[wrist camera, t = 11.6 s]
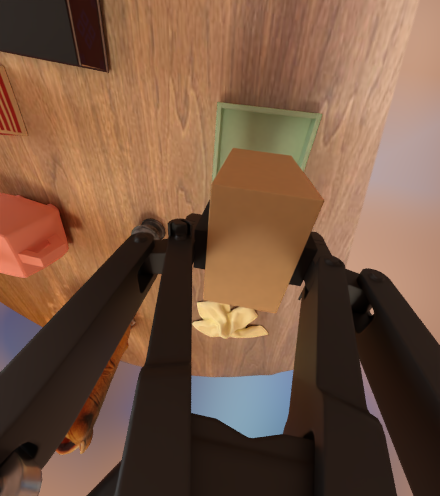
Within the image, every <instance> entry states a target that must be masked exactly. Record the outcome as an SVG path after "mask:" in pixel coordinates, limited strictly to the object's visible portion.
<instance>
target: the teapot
mask: <svg viewBox="0 0 440 496" xmlns="http://www.w3.org/2000/svg"><path fill="white" fill-rule="evenodd" d="M59 214H60V212H59V210H58V208H57V207H55V206H54V205H52V204H48V205H44V204H41V203H38V202H35V201H32V200H29V199H26V198H24V197H22V196H20V195H17V196H14V195H9V194H4V193H0V273H4V274H8V275H12V276H16V277H22V278H26V277H28V276H30V275H32V274H34V273H36V272H38V271H40V270H42V269H43V268H45V267H47V266H49V265H50V264H52V263H53V262H55V261H56V260H58V259H59V258H61V257H62V256H63V255H64V254H65V253H66V252H68V249H69V247H68V242H67V237H66V235H65V231H64V228H63V224H62V221H61V218H60V215H59Z"/></svg>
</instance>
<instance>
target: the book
mask: <svg viewBox="0 0 440 496" xmlns="http://www.w3.org/2000/svg"><path fill="white" fill-rule="evenodd" d="M0 51H1V52H7V53H12V54H17V55H22V56H27V57H32V58H37V59H42V60H47V61H52V62H57V63H63V64H68V65H73V66H78V67H83V68H88V69H93V70H98V71H103V72H108V73H109V69H108V62H107V54H106V47H105V39H104V31H103V24H102V16H101V9H100V1H99V0H0Z"/></svg>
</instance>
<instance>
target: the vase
mask: <svg viewBox="0 0 440 496" xmlns="http://www.w3.org/2000/svg"><path fill="white" fill-rule="evenodd" d="M133 320H134V319H133ZM133 320H132V321H131V323H130V325H129V327H128V328H127V330H126V332H125V334H124V335H123V337H122V339H121V341H120V343H119V344H118V346H117V348H116V350H115V351H114V353H113V355H112V357H111V358H110V360H109V362H108V364H107V365H106V367H105V369H104V371H103V373H102V374H101V376H100V378H99V380H98V381H97V383H96V385H95V387H94V388H93V390H92V392H91V394H90V396H89V397H88V399H87V401H86V403H85V404H84V406H83V408H82V410H81V411H80V413H79V415H78V417H77V418H76V420H75V422H74V423H73V425H72V427H71V428H70V430H69V432H68V433H67V435H66V436H65V438H64V440H63V441H62V442H61V444H60V445H59V447H58V448H57V449H56V451H57V453H59V454H60V455H64V454H69V453H71V452H73V451H74V450H75V449H77V448H80V451H81V452H80V453H81V454H82V453H84V451H85V450H86V449H87V448H88V446H89V445H90V443H91V440H92V436H93V426H94V424H95V422H96V419H97V417H98V415H99V412H100V409H101V407H102V404H103V402H104V399H105V396H106V394H107V391H108V389H109V386H110V383H111V381H112V379H113V376H114V374H115V371H116V369H117V366H118V364H119V362H120V359H121V357H122V355H123V353H124V351H125V350H126V349H127V348H128V338H129V334H130V329H131V326H133V325H134V324H135V321H133Z"/></svg>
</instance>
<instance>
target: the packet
mask: <svg viewBox="0 0 440 496" xmlns="http://www.w3.org/2000/svg"><path fill="white" fill-rule="evenodd" d="M323 202H324V199H323V198H322V197H321V195H320V194H319V193H318V191H317V190H316V189H315V187H314V186H313V184H312V183H311V182H310V180H309V179H308V178H307V176H306V175H305V174H304V172H303V171H302V169H301V168H300V167H299V165H298V164H297V163H296V161H295V160H294V159H293V157H292V156H291V155H283V154H276V153H268V152H261V151H253V150H246V149H238V148H232V150H231V152H230V153H229V155H228V157H227V159H226V160H225V162H224V164H223V165H222V167H221V169H220V170H219V172H218V174H217V175H216V177H215V179H214V180H213V182H212V184H211V194H210V208H209V222H208V236H207V250H206V264H205V279H204V293H203V300H206V301H211V302H217V303H222V304H228V305H233V306H238V307H244V308H249V309H255V310H260V311H265V312H271V313H276V312H277V310H278V308H279V305H280V303H281V301H282V298H283V296H284V294H285V291H286V289H287V287H288V284H289V282H290V280H291V277H292V275H293V273H294V270H295V268H296V266H297V263H298V261H299V259H300V256H301V254H302V252H303V249H304V247H305V245H306V242H307V240H308V238H309V235H310V233H311V231H312V228H313V226H314V224H315V221H316V219H317V217H318V214H319V212H320V210H321V207H322V205H323Z"/></svg>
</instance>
